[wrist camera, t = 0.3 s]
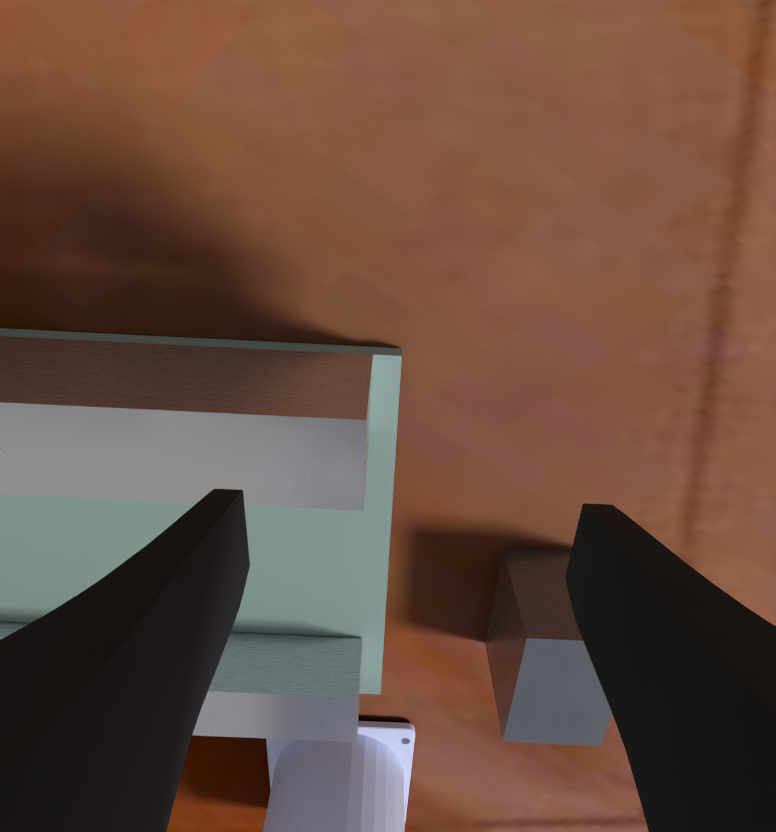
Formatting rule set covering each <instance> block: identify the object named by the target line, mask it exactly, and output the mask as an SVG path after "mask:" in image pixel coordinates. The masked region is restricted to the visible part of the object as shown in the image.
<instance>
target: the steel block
mask: <svg viewBox="0 0 776 832" xmlns="http://www.w3.org/2000/svg"><path fill="white" fill-rule="evenodd" d="M571 551H572V550H556V549H534V548H513V547H503V548H502V554H501V559H500V565H499V570H498V576H497V581H496V587H495V592H494V597H493V603H492V608H491V614H490V619H489V625H488V630H487V636H486V641H485V644H486V650H487V656H488V661H489V667H490V672H491V678H492V683H493V689H494V695H495V700H496V706H497V711H498V717H499V723H500V728H501V734H502V739H503V742H522V743H546V744H570V745H593V746H600V745H601V742H602V739H603V736H604V734H605V731H606V728H607V725H608V723H609V720H610V717H611V714H612V711H611V709H610V706H609V704H608V701H607V699H606V696H605V694H604V691H603V689H602V686H601V684H600V681H599V679H598V676H597V674H596V671H595V669H594V667H593V664H592V662H591V659H590V656H589V654H588V651H587V649H586V646H585V644H584V641H583V639H582V636H581V633H580V631H579V628H578V626H577V623H576V620H575V616H574V612H573V608H572V605H571V601H570V596H569V592H568V588H567V584H566V579H565V576H566V572H567V567H568V563H569V559H570V555H571Z"/></svg>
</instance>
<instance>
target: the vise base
mask: <svg viewBox="0 0 776 832" xmlns="http://www.w3.org/2000/svg"><path fill="white" fill-rule="evenodd" d="M401 358H402V350H401V348H387V347H367V346H347V345H327V344H307V343H287V342H266V341H246V340H226V339H206V338H186V337H166V336H146V335H126V334H106V333H86V332H66V331H46V330H26V329H6V328H0V623H20V624H30V623H31V622H33V621H35V620H37V619H39V618H41V617H42V616H44V615H46V614H47V613H49V612H51V611H52V610H54V609H56V608H57V607H59V606H61V605H62V604H64V603H65V602H67V601H68V600H70V599H72V598H73V597H75V596H76V595H78V594H80V593H81V592H83V591H84V590H86V589H87V588H89V587H90V586H92V585H93V584H95V583H96V582H98V581H99V580H100V579H102V578H103V577H105V576H106V575H107V574H109V573H110V572H111V571H113V570H114V569H115V568H117V567H118V566H119V565H121V564H122V563H123V562H125V561H126V560H127V559H129V558H130V557H132V556H133V555H134V554H136V553H137V552H138V551H140V550H141V549H142V548H144V547H145V546H146V545H147V544H149V543H150V542H151V541H152V540H153V539H155V538H156V537H157V536H158V535H160V534H161V533H162V532H163V531H164V530H166V529H167V528H168V527H169V526H170V525H172V524H173V523H174V522H175V521H176V520H178V519H179V518H180V517H181V516H182V515H183V514H185V513H186V512H187V511H188V510H189V509H190V508H192V507H193V506H194V505H195V504H196V503H197V502H199V501H200V500H201V499H202V498H203V497H205V496H206V495H207V494H208V493H209V492H211V491H212V490H213V489H235V490H243V496H244V507H245V517H246V528H247V539H248V549H249V560H250V567H249V572H248V576H247V580H246V584H245V589H244V593H243V596H242V600H241V604H240V608H239V611H238V614H237V616H236V619H235V622H234V625H233V627H232V630H231V632H230V633H245V634H268V635H290V636H313V637H335V638H358V639H362V663H361V686H360V693H361V694H380V692H381V676H382V660H383V644H384V629H385V613H386V597H387V581H388V565H389V549H390V533H391V517H392V501H393V486H394V470H395V454H396V438H397V422H398V406H399V390H400V374H401Z"/></svg>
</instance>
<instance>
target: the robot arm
mask: <svg viewBox="0 0 776 832" xmlns="http://www.w3.org/2000/svg"><path fill="white" fill-rule="evenodd" d="M249 567H250V560H249V549H248V539H247V528H246V517H245V507H244V496H243V490H235V489H213V490H212V491H211V492H209V493H208V494H207V495H206V496H205V497H203V498H202V499H201V500H200V501H199V502H197V503H196V504H195V505H194V506H193V507H192V508H190V509H189V510H188V511H187V512H186V513H185V514H183V515H182V516H181V517H180V518H179V519H178V520H176V521H175V522H174V523H173V524H172V525H170V526H169V527H168V528H167V529H166V530H164V531H163V532H162V533H161V534H160V535H158V536H157V537H156V538H155V539H153V540H152V541H151V542H150V543H149V544H147V545H146V546H145V547H144V548H142V549H141V550H140V551H138V552H137V553H136V554H134V555H133V556H132V557H130V558H129V559H127V560H126V561H125V562H123V563H122V564H121V565H119V566H118V567H117V568H115V569H114V570H113V571H111V572H110V573H109V574H107V575H106V576H105V577H103V578H102V579H100V580H99V581H98V582H96V583H95V584H93V585H92V586H90V587H89V588H87V589H86V590H84V591H83V592H81V593H80V594H78V595H76V596H75V597H73V598H72V599H70V600H68V601H67V602H65V603H64V604H62V605H61V606H59V607H57V608H56V609H54V610H52V611H51V612H49V613H47V614H46V615H44V616H42V617H41V618H39V619H37V620H35V621H33V622H31V623H30V624H28V625H26V626H24V627H22V628H21V629H19V630H17V631H15V632H13V633H12V634H10V635H8V636H6V637H4V638H2V639H1V640H0V832H166V830H167V826H168V823H169V819H170V815H171V811H172V807H173V804H174V800H175V796H176V792H177V788H178V785H179V781H180V777H181V774H182V770H183V767H184V763H185V759H186V756H187V752H188V749H189V745H190V742H191V738H192V735H193V731H194V728H195V725H196V722H197V720H198V717H199V714H200V711H201V708H202V705H203V703H204V700H205V698H206V695H207V692H208V690H209V687H210V685H211V682H212V679H213V677H214V674H215V672H216V669H217V666H218V664H219V661H220V659H221V656H222V653H223V651H224V648H225V646H226V643H227V640H228V638H229V635H230V632H231V630H232V627H233V625H234V622H235V619H236V616H237V614H238V611H239V608H240V604H241V600H242V596H243V593H244V589H245V584H246V580H247V576H248V572H249ZM565 579H566V584H567V588H568V592H569V596H570V601H571V605H572V608H573V612H574V616H575V620H576V623H577V626H578V628H579V631H580V633H581V636H582V639H583V641H584V644H585V646H586V649H587V651H588V654H589V656H590V659H591V662H592V664H593V667H594V669H595V671H596V674H597V676H598V679H599V681H600V684H601V686H602V689H603V691H604V694H605V696H606V699H607V701H608V704H609V706H610V709H611V711H612V714H613V716H614V719H615V721H616V724H617V727H618V729H619V732H620V735H621V738H622V741H623V744H624V746H625V749H626V752H627V756H628V759H629V763H630V766H631V770H632V773H633V776H634V780H635V783H636V787H637V790H638V794H639V797H640V800H641V804H642V808H643V811H644V815H645V819H646V823H647V826H648V830H649V832H776V626H774V625H773V624H771V623H769V622H768V621H766V620H765V619H763V618H762V617H760V616H759V615H757V614H756V613H754V612H753V611H751V610H750V609H748V608H747V607H745V606H744V605H742V604H741V603H740V602H738V601H737V600H735V599H734V598H733V597H731V596H730V595H728V594H727V593H725V592H724V591H723V590H721V589H720V588H718V587H717V586H716V585H714V584H713V583H712V582H710V581H709V580H708V579H706V578H705V577H704V576H702V575H701V574H700V573H698V572H697V571H696V570H694V569H693V568H692V567H690V566H689V565H688V564H687V563H685V562H684V561H683V560H681V559H680V558H679V557H678V556H676V555H675V554H674V553H673V552H671V551H670V550H669V549H668V548H666V547H665V546H664V545H663V544H661V543H660V542H659V541H658V540H656V539H655V538H654V537H653V536H651V535H650V534H649V533H648V532H647V531H645V530H644V529H643V528H642V527H640V526H639V525H638V524H637V523H635V522H634V521H633V520H632V519H630V518H629V517H628V516H627V515H625V514H624V513H623V512H621V511H620V510H619V509H617V508H616V507H614V506H613V505H605V504H583V506H582V510H581V514H580V518H579V522H578V527H577V531H576V535H575V539H574V543H573V547H572V551H571V555H570V559H569V563H568V567H567V572H566V576H565ZM414 741H415V727H414V726H413V725H412V724H410V723H398V722H375V721H358V732H357V742H338V741H314V740H291V739H267V738H266V743H267V755H268V767H269V778H270V790H271V792H270V797H269V802H268V807H267V812H266V817H265V823H264V828H263V832H405V830H404V824H405V821H406V812H407V803H408V794H409V785H410V776H411V767H412V759H413V750H414Z"/></svg>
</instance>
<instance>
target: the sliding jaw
mask: <svg viewBox="0 0 776 832" xmlns="http://www.w3.org/2000/svg"><path fill="white" fill-rule="evenodd" d="M26 625H28V624H20V623H0V640H1V639H2V638H4V637H6V636H8V635H10V634H12V633H13V632H15V631H17V630H19V629H21V628H22V627H24V626H26ZM361 663H362V639H358V638H335V637H313V636H290V635H268V634H245V633H230V635H229V638H228V640H227V643H226V646H225V648H224V651H223V653H222V656H221V659H220V661H219V664H218V666H217V669H216V672H215V674H214V677H213V679H212V682H211V685H210V687H209V690H208V692H207V695H206V698H205V700H204V703H203V705H202V708H201V711H200V714H199V717H198V720H197V722H196V725H195V728H194V731H193V735H197V736H220V737H244V738H267V739H291V740H314V741H338V742H357V732H358V717H359V702H360V686H361Z"/></svg>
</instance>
